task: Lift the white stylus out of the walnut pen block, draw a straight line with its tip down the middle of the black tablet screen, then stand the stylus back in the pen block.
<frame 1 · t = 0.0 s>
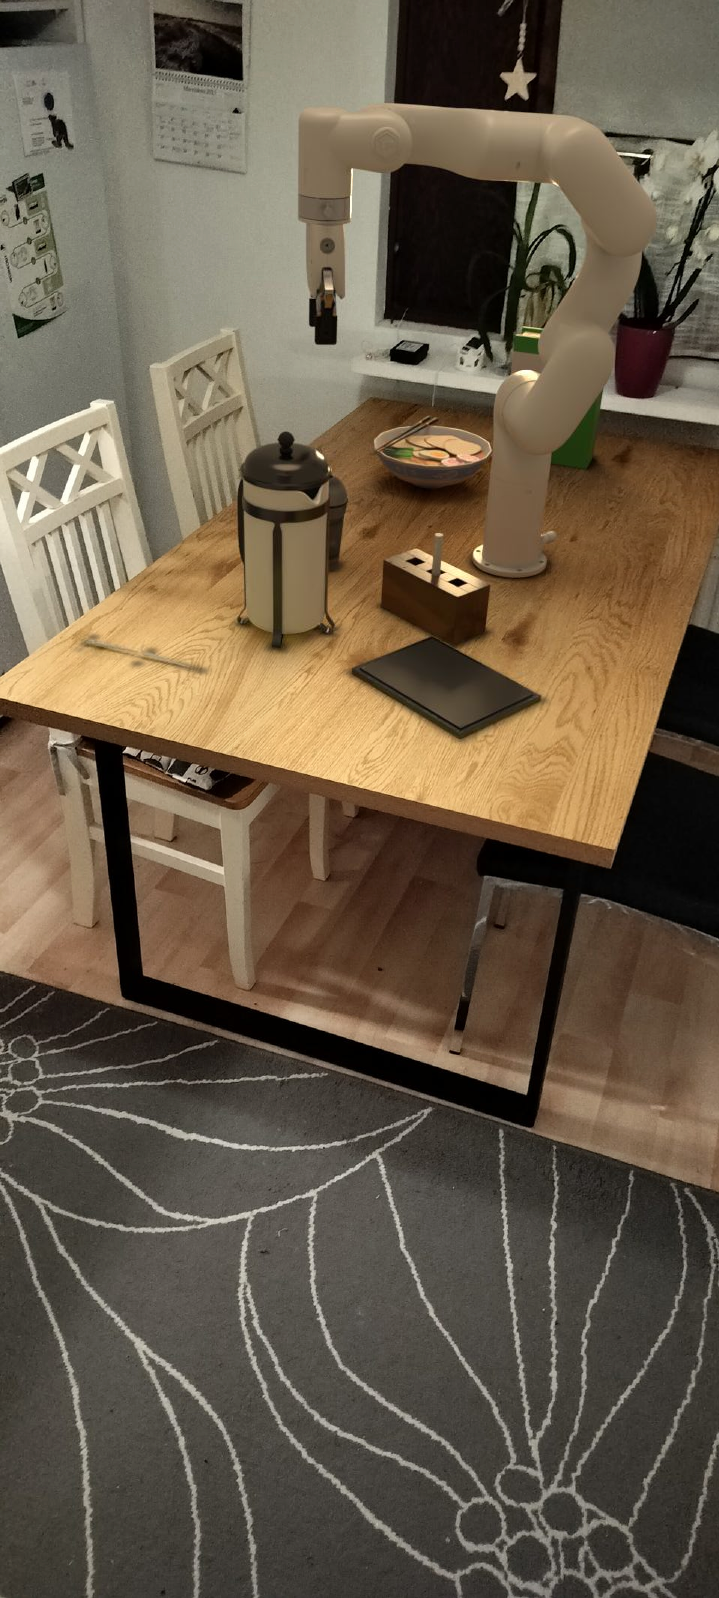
hand: (322, 334, 177), 37 cm above the table, tool pointing down, fingers open, 9 cm apart
tablet: (444, 686, 168), on the table
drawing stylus: (435, 577, 181), in a hole of the pen block
pen block: (432, 619, 185), on the table
ramen bowl: (429, 482, 232), on the table
hardback book: (547, 457, 246), on the table
beverage cup: (324, 566, 199), on the table
coffee press: (279, 625, 182), on the table
stylus: (142, 657, 172), on the table
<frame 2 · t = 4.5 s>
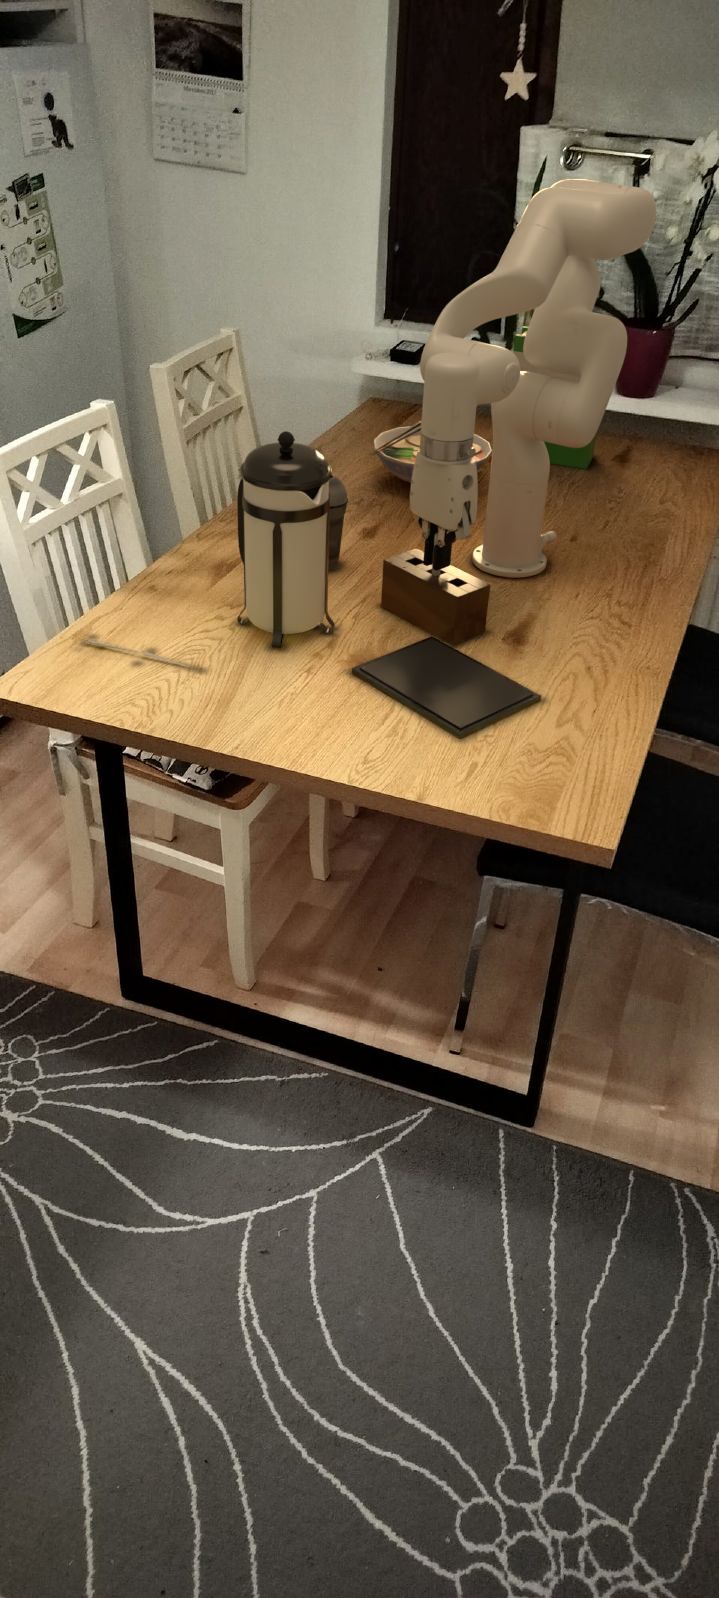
hand: (436, 564, 180), 9 cm above the table, tool pointing down, fingers closed on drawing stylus, 1 cm apart
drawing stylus: (435, 577, 181), in a hole of the pen block, touching gripper
everything else where it was.
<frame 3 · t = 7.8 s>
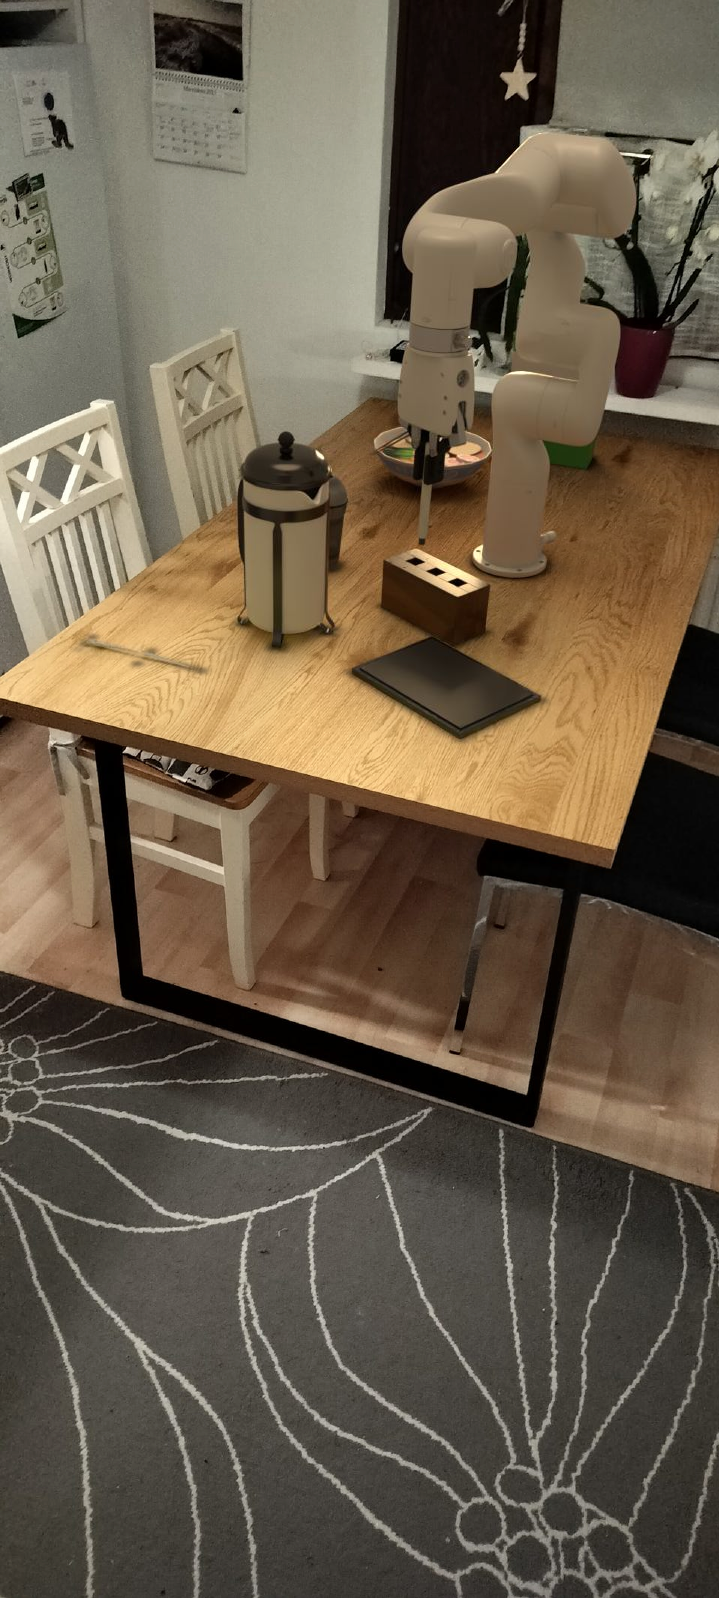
hand: (427, 479, 159), 27 cm above the table, tool pointing down, fingers closed on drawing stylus, 1 cm apart
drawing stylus: (426, 494, 160), point 25 cm above the table, touching gripper
everything else where it was.
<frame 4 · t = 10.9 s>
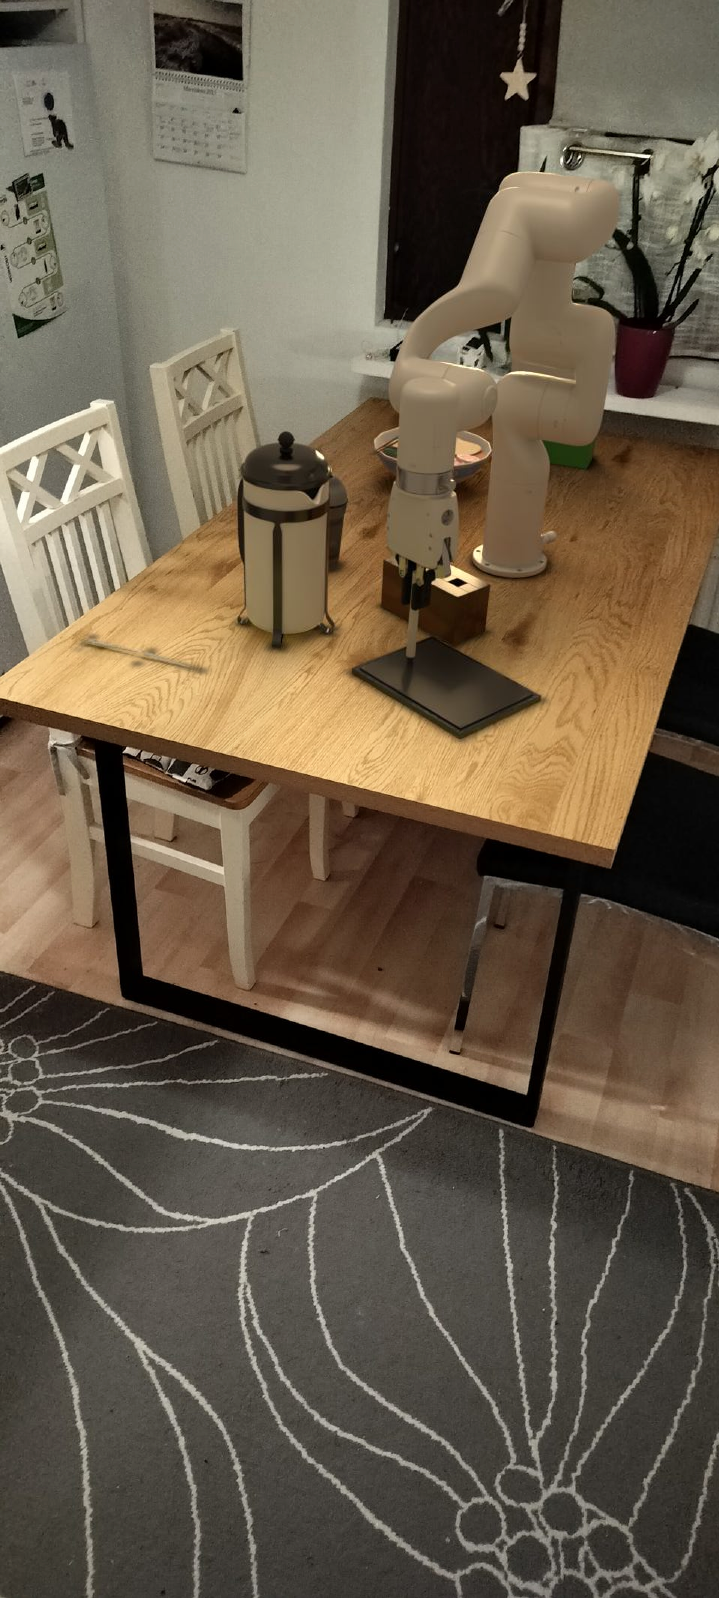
hand: (415, 604, 167), 10 cm above the table, tool pointing down, fingers closed on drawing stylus, 1 cm apart
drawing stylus: (413, 617, 168), on the tablet, point 8 cm above the table, touching gripper
everything else where it was.
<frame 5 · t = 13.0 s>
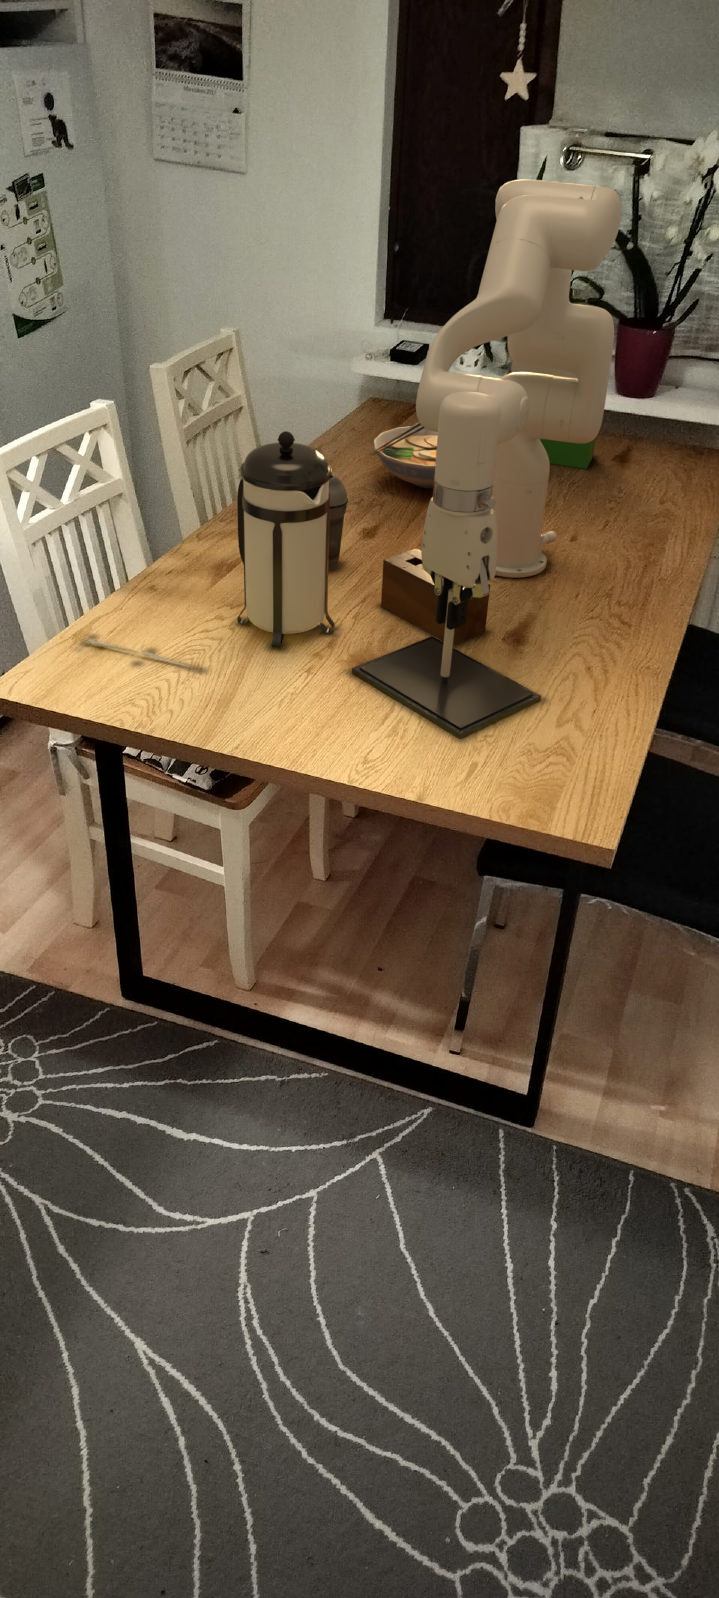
hand: (450, 622, 162), 10 cm above the table, tool pointing down, fingers closed on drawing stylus, 1 cm apart
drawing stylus: (448, 636, 164), point 8 cm above the table, touching gripper
everything else where it was.
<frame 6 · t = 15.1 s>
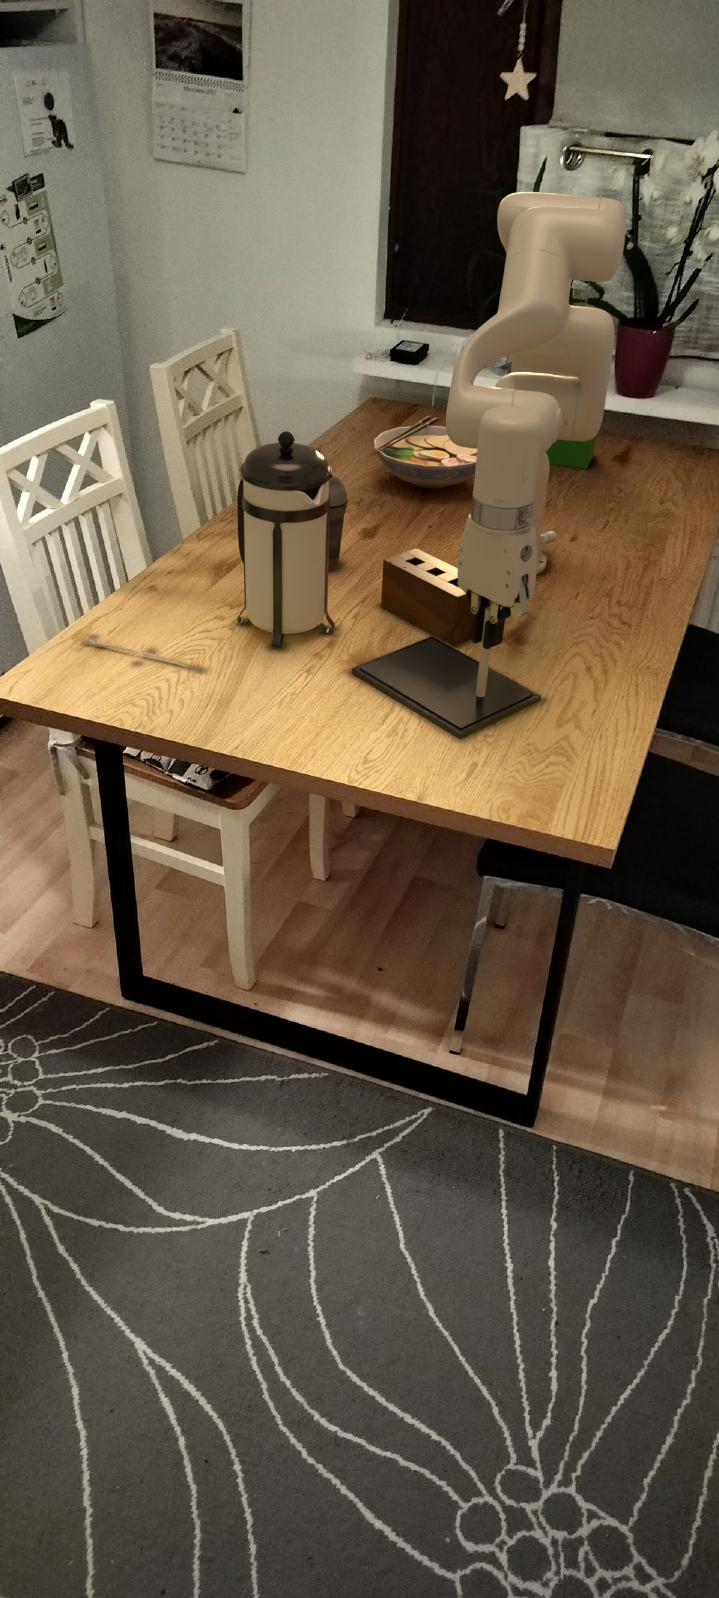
hand: (487, 642, 158), 10 cm above the table, tool pointing down, fingers closed on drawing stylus, 1 cm apart
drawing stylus: (484, 656, 159), on the tablet, point 8 cm above the table, touching gripper
everything else where it was.
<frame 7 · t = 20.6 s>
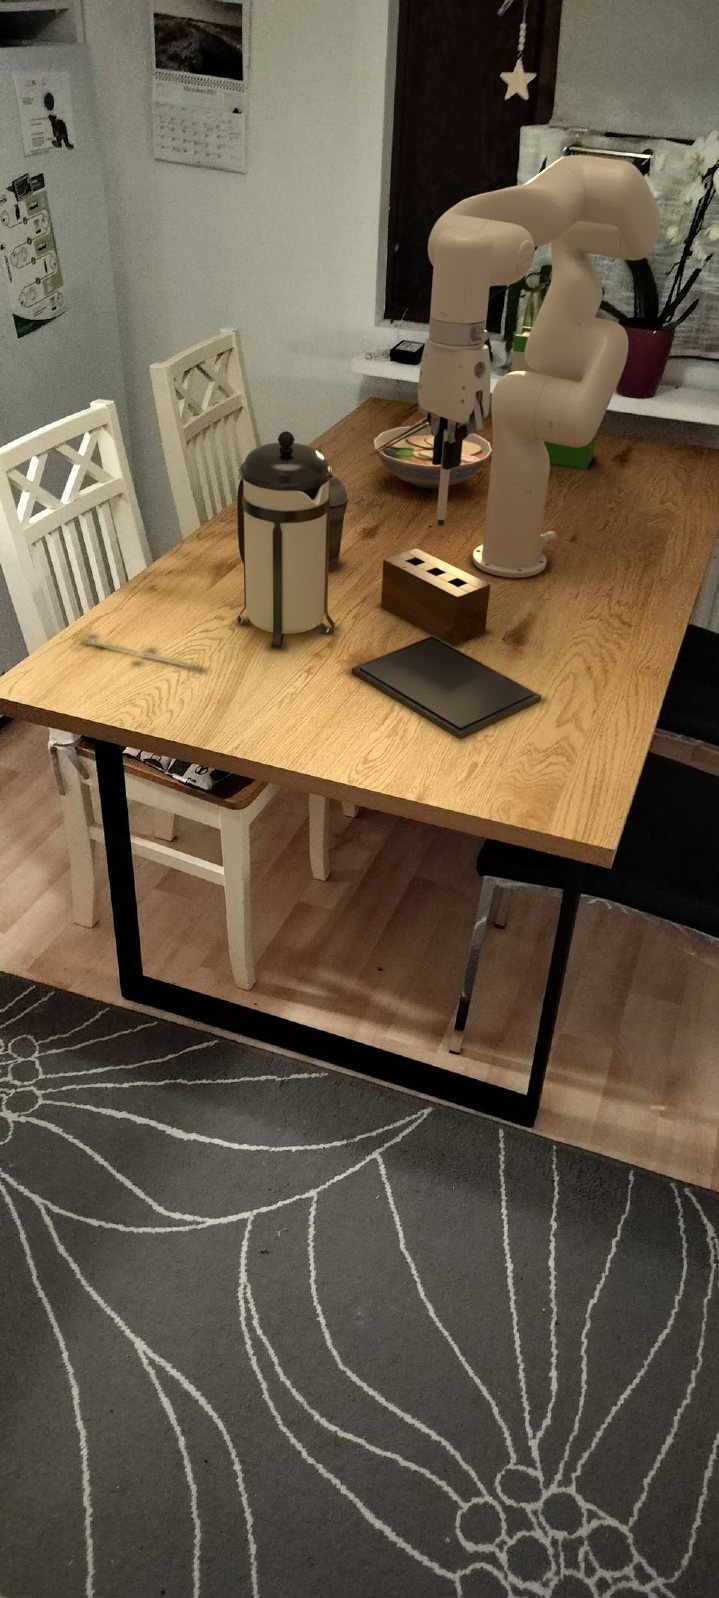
hand: (446, 464, 170), 25 cm above the table, tool pointing down, fingers closed on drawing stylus, 1 cm apart
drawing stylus: (444, 478, 171), point 23 cm above the table, touching gripper
everything else where it was.
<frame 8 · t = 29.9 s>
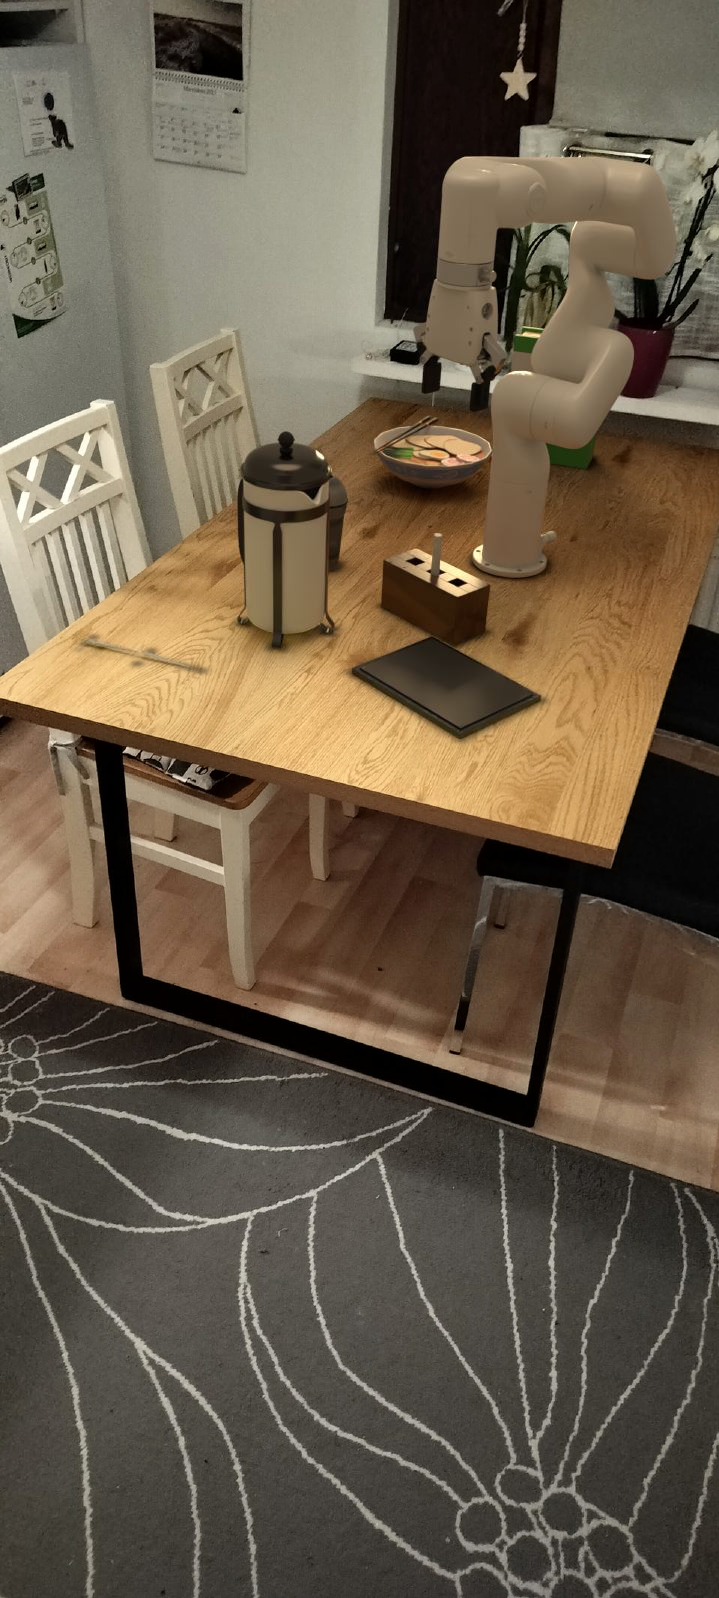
hand: (454, 400, 170), 32 cm above the table, tool pointing down, fingers open, 9 cm apart
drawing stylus: (434, 577, 181), in a hole of the pen block
everything else where it was.
at the end: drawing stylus 0.2 cm off-centre in the pen block, point 7.0 cm above the pen block's base; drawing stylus tilted 0°; the gripper is holding nothing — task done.
